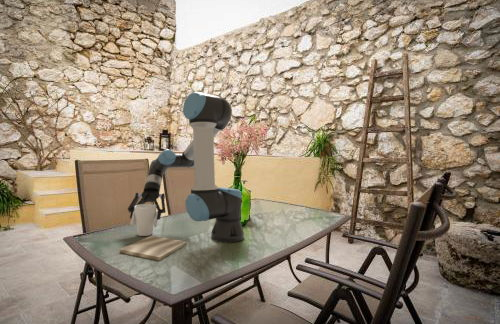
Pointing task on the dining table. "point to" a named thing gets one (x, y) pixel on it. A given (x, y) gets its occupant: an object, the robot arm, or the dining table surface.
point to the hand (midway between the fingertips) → (143, 225)
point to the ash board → (153, 247)
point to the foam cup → (145, 218)
